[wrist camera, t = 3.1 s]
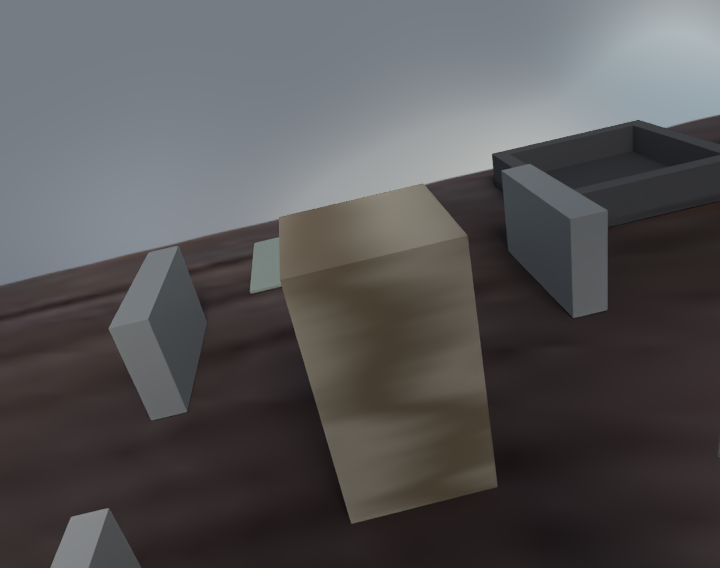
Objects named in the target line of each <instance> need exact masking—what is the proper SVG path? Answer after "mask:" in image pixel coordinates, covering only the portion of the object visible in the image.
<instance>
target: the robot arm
mask: <svg viewBox="0 0 720 568" xmlns="http://www.w3.org/2000/svg"><path fill="white" fill-rule="evenodd" d="M718 456H719V457H720V441H719V449H718ZM51 568H141V566H140V564H139V562H138V561H137V559H136V557H135V555H134V553H133V551H132V550H131V548H130V546H129V544H128V542H127V540H126V538H125V537H124V535H123V533H122V531H121V529H120V527H119V526H118V524H117V522H116V520H115V518H114V516H113V514H112V513H111V511H110V509H109V508H106V509H102V510H98V511H94V512H90V513H86V514H82V515H78V516H73V517H71V519H70V521H69V523H68V526H67V528H66V531H65V533H64V536H63V538H62V541H61V543H60V546H59V548H58V550H57V553H56V555H55V558H54V560H53V563H52V565H51Z"/></svg>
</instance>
